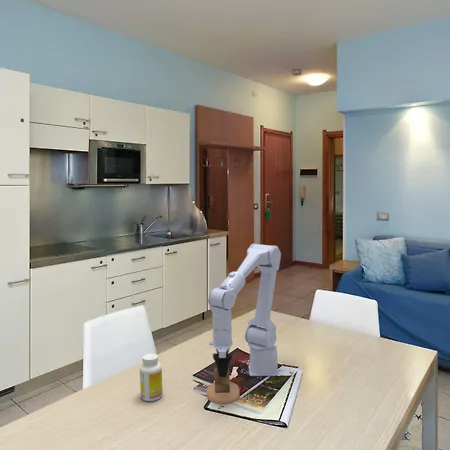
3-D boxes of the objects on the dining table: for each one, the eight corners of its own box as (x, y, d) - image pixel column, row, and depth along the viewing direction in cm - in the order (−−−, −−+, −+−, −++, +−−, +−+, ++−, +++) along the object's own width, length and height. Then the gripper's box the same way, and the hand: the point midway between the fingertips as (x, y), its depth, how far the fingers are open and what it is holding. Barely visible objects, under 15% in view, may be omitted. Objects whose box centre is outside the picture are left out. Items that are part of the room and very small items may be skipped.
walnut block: (229, 385, 131) (228, 367, 131) (229, 392, 127) (229, 373, 126) (214, 385, 131) (214, 367, 131) (215, 393, 127) (214, 374, 126)
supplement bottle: (166, 393, 131) (165, 353, 130) (156, 403, 125) (154, 362, 124) (147, 389, 133) (146, 351, 132) (136, 400, 127) (135, 359, 126)
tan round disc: (238, 388, 135) (238, 380, 134) (240, 404, 125) (240, 396, 124) (206, 389, 134) (206, 381, 134) (206, 406, 124) (206, 398, 124)
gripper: (209, 319, 134) (210, 360, 136) (208, 337, 120) (209, 382, 121) (231, 319, 134) (232, 360, 136) (232, 336, 120) (233, 381, 121)
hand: (222, 370), depth 129 cm, fingers open, 7 cm apart
